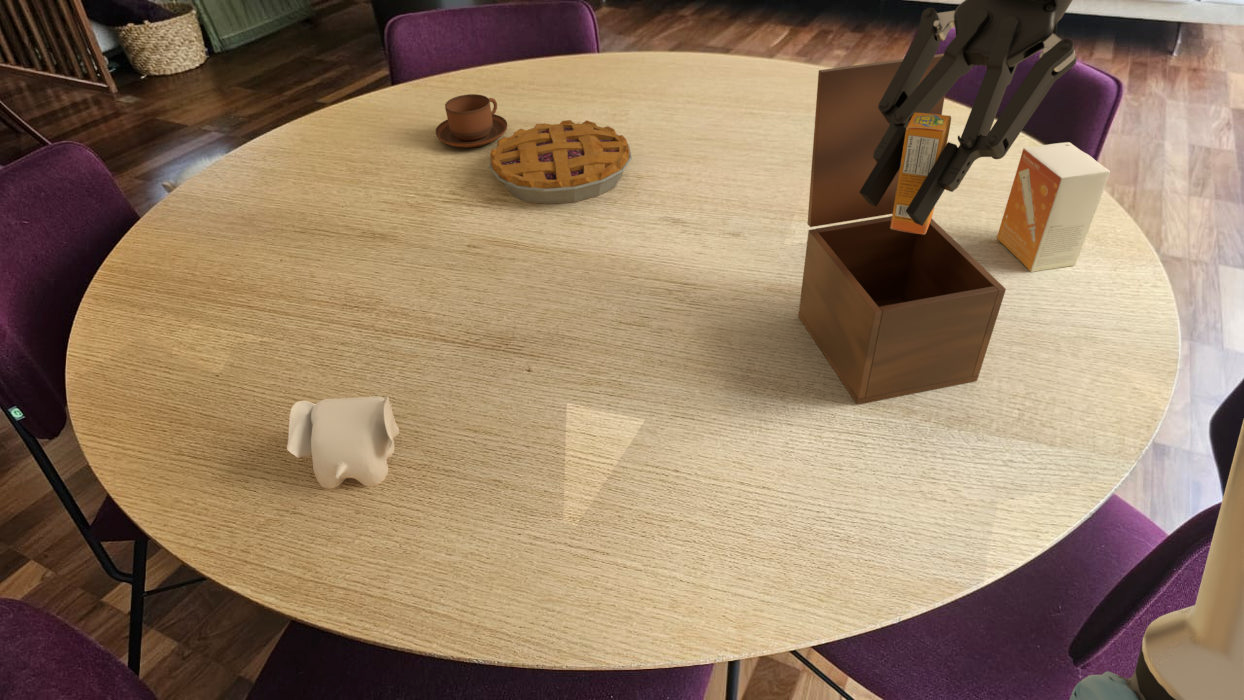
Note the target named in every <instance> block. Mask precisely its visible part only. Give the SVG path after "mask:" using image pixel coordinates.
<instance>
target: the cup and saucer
mask: <svg viewBox="0 0 1244 700" xmlns="http://www.w3.org/2000/svg"><path fill="white" fill-rule="evenodd" d="M491 103H492V105H493V108H492V109H491ZM444 109H445V114H446V119H445V120H443V121H442V122H441V123H439V124H438V125H437V126H436V128H435V136H436V137H437V139H438V140H440V142H442V143H443V144H446V145H448V146H451V147H456V148H475V147H476V148H477V147H481V146H485V145H488V144H491V143H493V142H495V141H498V140H499V139H501V137H502V136H503V135H504V134H505V133H506V132H507V129H508V122H507V120H506V119H505V118H504V117H503V116H501V115H498V114H496V112H497V110H498V102H497V101H496V99H495V98H493V97H487V96H485V95H483V94H477V93H476V94H474V93H473V94H463V95H457V96H455V97H452V98H450V99H448V100H447V101H446V102H445V103H444Z"/></svg>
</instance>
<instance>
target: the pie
mask: <svg viewBox="0 0 1244 700" xmlns="http://www.w3.org/2000/svg"><path fill="white" fill-rule="evenodd" d="M632 156H633V155H632V151H631V146H630V144H629V143H628V140H627V138H626V137H624V135H622V134H620V135H619V134H618V133H617V132H616V130H615V129H614V128H613V127H611V126H609V125H607V126H604V127H602V126H598V125H597V124H596V123H595V122H593V121H590V120H584V121H583V122H582V123H575V122H573V120H571V119H567V120H562V121H561V122H560V123H555V124H550V123H545V122H543V123H536V124H535V125H534V126H533V128H528V129H523V128H519V129H518V130H516V131H515V132H513V134H512V135H511V136H509V137H507V136H504V137H502V138H499V139H498V140H497V143H496V147H495V148H492V149H491V150H490V155H489V164H488V169H489V170H490V171H491V173H492V174H493V175H494V177H495V179H497V180H498V181H499V182H500V183H502V184H503V185H504V187H505V188H506V189H507V191H508V192H509V193H510V194H511V196H514V197H516V198H518V199H520V200H522V201H523V202H525V203H535V204H542V205H555V204H566V203H567V204H568V203H576V202H580V201H583V200H587V199H592V198H595V197H599V196H601V195H603V194H605V193H607V192H608V191H611V190H612V189H614V188H616V187H617V185H618V183H619V181H620V180H621V178H622V176H623V174H624V172H625V170H626V169H627V167H628V165H629V164H630V163H631V161H632V159H633V157H632Z"/></svg>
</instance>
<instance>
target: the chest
mask: <svg viewBox="0 0 1244 700" xmlns="http://www.w3.org/2000/svg"><path fill="white" fill-rule="evenodd" d="M891 220H892V215H890V216H885V217H878V218H871V219H866V220H865V219H864V220H860V221H859V220H858V221H854V222H848V223H847V222H846V223H842V224H835V225H829V226H823V227H817V228H812V229H811V228H810V229H808V230H807V231H808V232H807V240H806V248H805V249H806V250H805V256H804V265H803V272H802V281H801V289H800V291H801V293H800V299H799V308H798V314H797V317H798V319H799V320H800V322H801V323H802V325H803V326H804V328H805V329H806V330H807V332H808V334H809V335H810V336H811V338H812V339H813V342H815V344H816V346H817V347H818V348H819V350H820V351H821V353H822V355H823V356H824V357H825V359H826V360H827V362H828V363H829V365H830V367H831V368H832V369H833V371H834V373H835V374H836V375H837V377H838V378H839V380H840V381H841V383H842V385H843V386H844V387H845V389H846V390H847V392H848V393H849V395H850V397H851V398H852V399H853V401H854V402H855V404H856V405H863V404H867V403H871V402H876V401H882V400H886V399H892V398H896V397H901V396H907V395H911V394H912V395H913V394H917V393H921V392H927V391H932V390H936V389H942V388H948V387H952V386H957V385H961V384H962V385H963V384H967V383H972V382H977V381H978V379H979V376H980V373H981V370H982V367H983V363H984V361H985V357H986V354H987V350H988V348H989V345H990V341H991V338H992V334H993V332H994V329H995V325H996V322H997V319H998V316H999V312H1000V309H1001V307H1002V303H1003V300H1004V296H1005V293H1006V290H1007V289H1006V287H1004V285H1002V284H1001V283H1000V282H999V281H998V280H997V279H996V278H995V277H994V276H993V275H992V274H991V273H990V272H989V271H988V270H987V269H986V268H984V266H983V265H981V263H979V262H978V260H976V259H975V258H974V257H973V256H972V255H971V254H970V253H969V252H968V251H967V250H966V249H964V247H962V246H961V244H959V243H958V242H957V241H956V240H955V239H954V238H953V237H952V236H951V235H950V234H949V233H948V232H947V231H946V230H945V229H943V227H941V225H939V224H938V223H937V222H936V221H935V220H934V219H933V217H932V218H931V221H930V224H929V227H928V229H927V232H926V234H924V235H923V234H915V233H909V232H903V231H898V230H893V229H891V228H890V226H891Z"/></svg>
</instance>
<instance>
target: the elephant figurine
mask: <svg viewBox="0 0 1244 700" xmlns="http://www.w3.org/2000/svg"><path fill="white" fill-rule="evenodd" d="M392 405H393V404H392V403H391V402H390V397H389V396H387V395H386V396H385V397H383V396H381V395H374V396H373V395H372V396H360V397H359V396H357V397H339V398H338V397H337V398H324V399H321V400H319V401H317V402H316V403H314V402H312V401H309V400H299V401H296V402H295V403H294V404H293V405H292V406H291V408H290V412H289V419H288V434H287V435H288V436H287V445H286V450H287V451H288V452H289V453H290V454H291V455H293V456H295V458H297V459H300V458H307V457H310V456H311V460H312V468H313V474H314V476H315V478H316V481H317V483H318V484H319V485H320V486H321V487H322V488H324V489H329V490H330V489H335V488H337V487H340V485H342V484H343V483H344V481H345V480H346V479H354V480H356V481H358V482H359V483H360V484H361V485H362V486H364V487H373V486H377V485H379V484H380V483H382V482H383V481H385V479H386V477H387V476H388V474H389V464H388V462H387V461H388V459H389V458H390V457H391V456H393V454H394V452H395V448H396V447H395V440H394V439H395V438H396V437H397V436H399V433H400V428H399V425H398V424H397V422H396V419H395V416H394V413H393V409H392Z"/></svg>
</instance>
